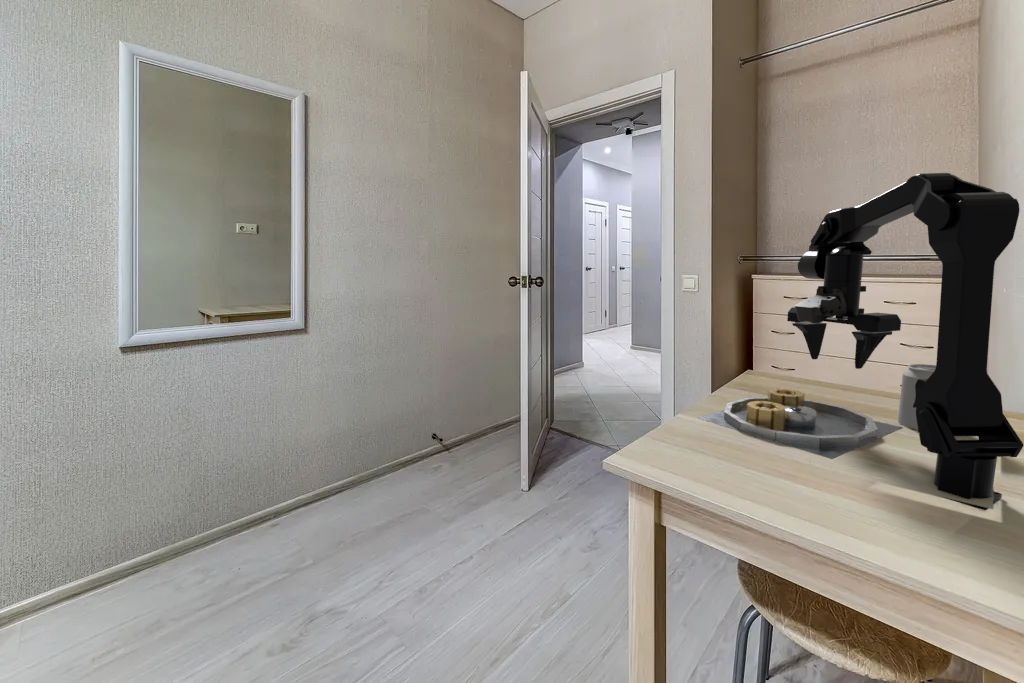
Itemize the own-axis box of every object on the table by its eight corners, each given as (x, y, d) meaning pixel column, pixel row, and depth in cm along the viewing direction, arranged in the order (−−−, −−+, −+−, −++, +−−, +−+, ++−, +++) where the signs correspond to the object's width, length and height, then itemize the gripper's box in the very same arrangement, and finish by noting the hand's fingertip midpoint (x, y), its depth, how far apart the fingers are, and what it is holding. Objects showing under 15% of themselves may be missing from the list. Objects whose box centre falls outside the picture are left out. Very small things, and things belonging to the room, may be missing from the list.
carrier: (831, 464, 75) (833, 437, 75) (696, 422, 97) (697, 400, 96) (902, 432, 88) (904, 408, 87) (769, 401, 109) (770, 382, 109)
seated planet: (791, 418, 95) (792, 398, 94) (761, 410, 100) (762, 391, 99) (808, 412, 98) (810, 393, 97) (778, 405, 103) (779, 386, 102)
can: (960, 438, 85) (969, 371, 83) (911, 436, 86) (919, 370, 84) (933, 424, 92) (940, 362, 90) (888, 422, 94) (894, 362, 92)
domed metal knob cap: (803, 430, 88) (804, 416, 87) (768, 421, 93) (769, 407, 93) (822, 423, 91) (823, 409, 91) (787, 414, 97) (788, 401, 96)
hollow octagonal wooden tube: (792, 429, 88) (793, 408, 88) (763, 433, 87) (764, 412, 86) (766, 419, 94) (767, 399, 93) (739, 423, 93) (740, 402, 92)
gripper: (767, 280, 96) (762, 358, 98) (855, 284, 78) (847, 378, 81) (812, 278, 99) (806, 354, 101) (907, 281, 81) (898, 372, 83)
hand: (835, 363), depth 91 cm, fingers open, 9 cm apart
